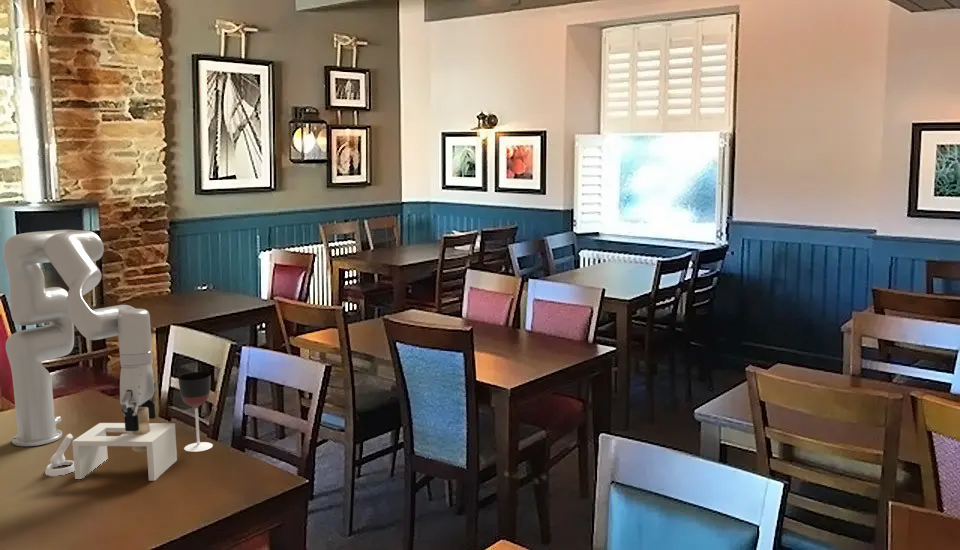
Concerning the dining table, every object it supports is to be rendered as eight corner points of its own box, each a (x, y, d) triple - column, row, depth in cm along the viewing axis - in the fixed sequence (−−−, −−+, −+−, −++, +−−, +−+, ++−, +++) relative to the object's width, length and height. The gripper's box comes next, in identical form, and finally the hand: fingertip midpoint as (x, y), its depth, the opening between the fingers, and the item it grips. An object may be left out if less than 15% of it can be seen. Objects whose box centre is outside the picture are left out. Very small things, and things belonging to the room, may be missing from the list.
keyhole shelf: (75, 479, 209) (72, 441, 207) (102, 459, 222) (99, 422, 221) (154, 480, 208) (152, 441, 206) (177, 460, 222) (174, 423, 220)
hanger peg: (137, 445, 217) (134, 406, 215) (155, 445, 216) (153, 406, 215) (128, 452, 212) (126, 412, 210) (147, 452, 212) (145, 412, 210)
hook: (86, 456, 210) (59, 443, 208) (63, 491, 213) (37, 478, 211) (96, 440, 217) (70, 428, 215) (74, 474, 220) (48, 462, 218)
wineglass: (220, 443, 234) (216, 373, 231) (200, 453, 226) (196, 381, 223) (196, 440, 237) (192, 371, 234) (176, 450, 229) (171, 379, 226)
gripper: (136, 350, 219) (141, 413, 222) (105, 367, 202) (110, 435, 205) (165, 350, 219) (169, 414, 222) (135, 367, 202) (140, 436, 204)
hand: (140, 424), depth 213 cm, fingers open, 9 cm apart
